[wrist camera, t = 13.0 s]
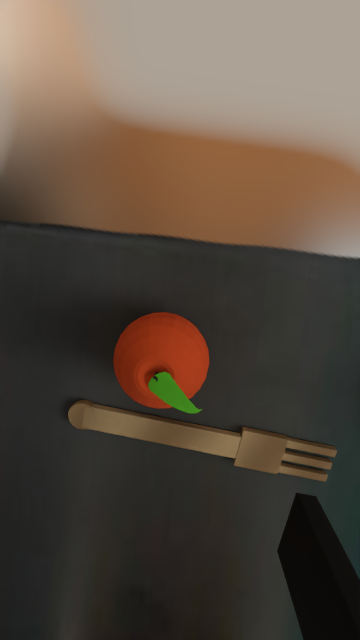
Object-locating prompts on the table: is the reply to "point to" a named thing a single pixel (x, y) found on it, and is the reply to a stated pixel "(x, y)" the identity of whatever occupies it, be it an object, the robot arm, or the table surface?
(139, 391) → the clementine
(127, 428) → the fork
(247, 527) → the table surface
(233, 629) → the table surface
